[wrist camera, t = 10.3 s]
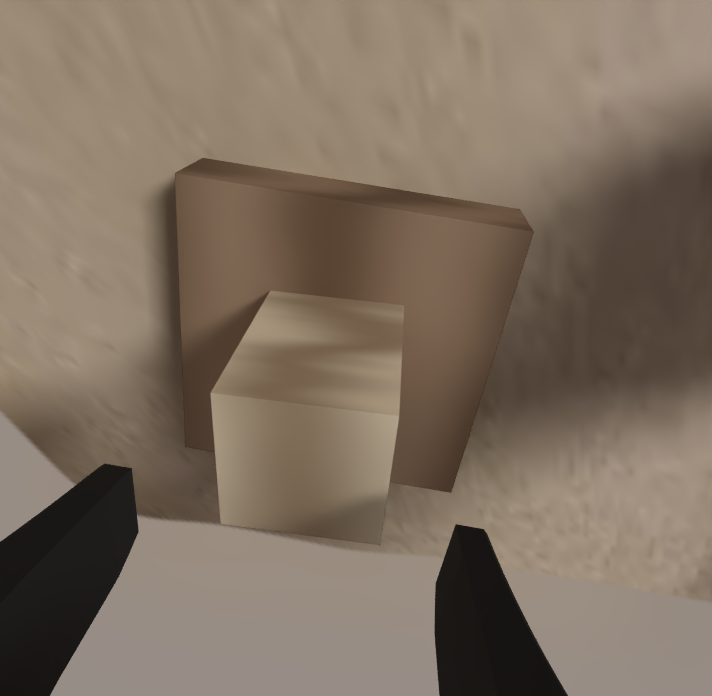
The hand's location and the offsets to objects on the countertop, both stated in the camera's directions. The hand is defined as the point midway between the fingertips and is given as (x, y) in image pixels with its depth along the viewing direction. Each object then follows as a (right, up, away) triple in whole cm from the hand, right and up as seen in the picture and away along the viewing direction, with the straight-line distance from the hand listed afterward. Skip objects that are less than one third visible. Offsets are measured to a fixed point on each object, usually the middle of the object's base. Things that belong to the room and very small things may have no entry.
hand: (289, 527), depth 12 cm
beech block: (+1, +4, +7) cm, 8 cm away
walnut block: (+1, +5, +10) cm, 11 cm away
